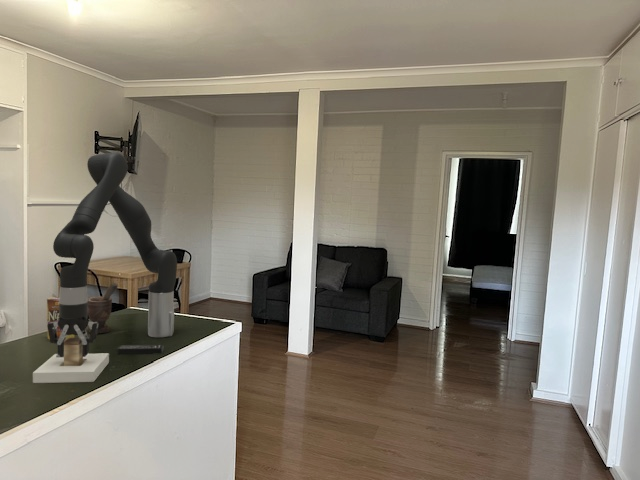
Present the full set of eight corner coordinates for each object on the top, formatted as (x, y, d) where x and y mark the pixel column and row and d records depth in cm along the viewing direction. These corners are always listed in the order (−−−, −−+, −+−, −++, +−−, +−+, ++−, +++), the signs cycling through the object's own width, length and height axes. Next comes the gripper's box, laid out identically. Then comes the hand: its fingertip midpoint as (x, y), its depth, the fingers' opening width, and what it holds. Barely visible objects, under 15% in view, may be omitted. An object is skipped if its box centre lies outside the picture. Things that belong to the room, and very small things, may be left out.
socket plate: (108, 362, 149) (108, 351, 149) (93, 381, 133) (93, 369, 133) (54, 363, 146) (54, 352, 146) (32, 383, 130) (32, 370, 130)
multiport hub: (120, 351, 161) (120, 344, 161) (163, 350, 164) (163, 344, 163) (117, 355, 157) (117, 349, 156) (161, 354, 159) (161, 348, 159)
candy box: (46, 339, 169) (46, 298, 167) (56, 336, 173) (56, 296, 171) (65, 343, 166) (65, 301, 165) (75, 339, 170) (75, 298, 169)
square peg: (82, 369, 142) (83, 337, 141) (78, 374, 138) (78, 341, 137) (68, 369, 141) (68, 337, 140) (63, 374, 137) (63, 341, 136)
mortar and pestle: (122, 329, 186) (123, 280, 184) (115, 335, 178) (115, 283, 176) (92, 328, 185) (92, 279, 183) (83, 334, 176) (83, 283, 175)
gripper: (102, 298, 143) (102, 351, 144) (52, 298, 140) (52, 352, 142) (95, 304, 135) (95, 360, 137) (42, 303, 133) (42, 360, 134)
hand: (73, 355), depth 139 cm, fingers open, 5 cm apart
